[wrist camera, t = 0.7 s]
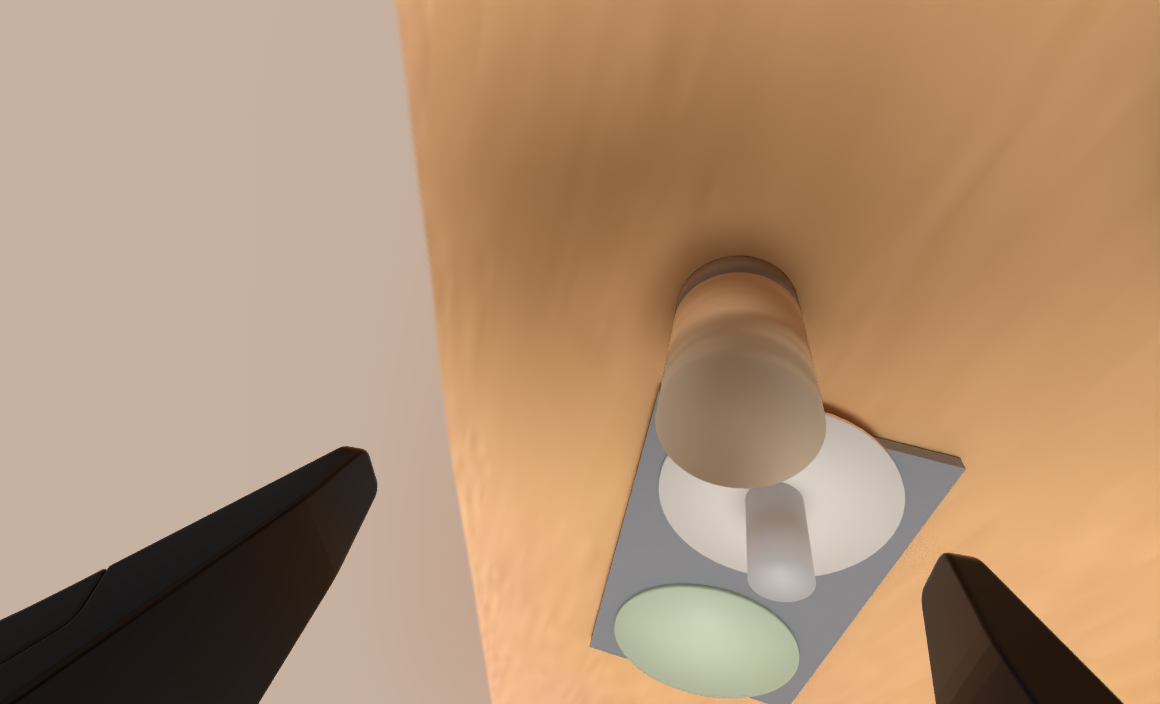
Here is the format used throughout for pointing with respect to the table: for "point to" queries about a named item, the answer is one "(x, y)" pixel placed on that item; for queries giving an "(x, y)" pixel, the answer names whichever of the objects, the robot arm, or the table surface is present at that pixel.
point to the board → (805, 615)
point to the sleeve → (740, 378)
